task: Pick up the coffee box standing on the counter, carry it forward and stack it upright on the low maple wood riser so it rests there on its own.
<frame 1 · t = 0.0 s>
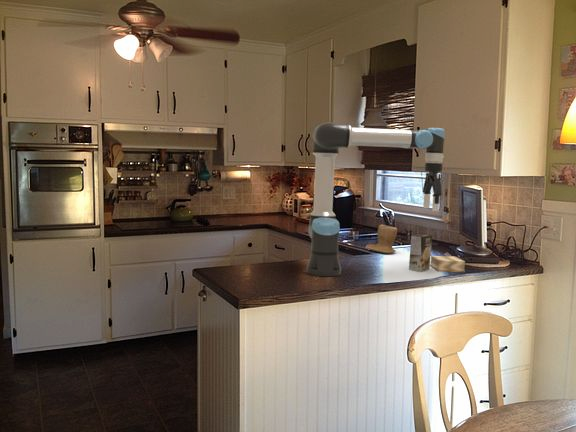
hand: (430, 209, 252), 28 cm above the counter, tool pointing down, fingers open, 13 cm apart
maple riser: (446, 269, 259), on the counter
coffee box: (419, 270, 255), on the counter
tan boot: (382, 252, 299), on the counter
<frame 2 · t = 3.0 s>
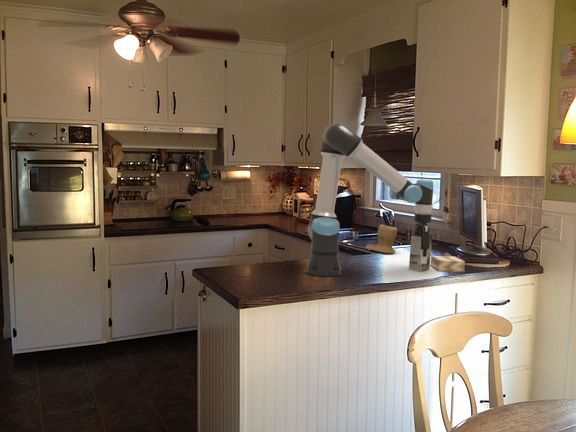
hand: (419, 261, 255), 4 cm above the counter, tool pointing down, fingers closed on coffee box, 10 cm apart
coffee box: (419, 269, 255), on the counter, touching gripper
everything else where it was.
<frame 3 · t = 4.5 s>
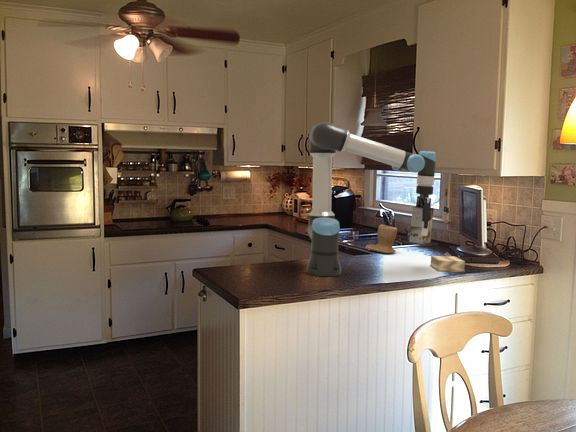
hand: (420, 233, 253), 17 cm above the counter, tool pointing down, fingers closed on coffee box, 10 cm apart
coffee box: (419, 242, 254), point 13 cm above the counter, touching gripper
everything else where it was.
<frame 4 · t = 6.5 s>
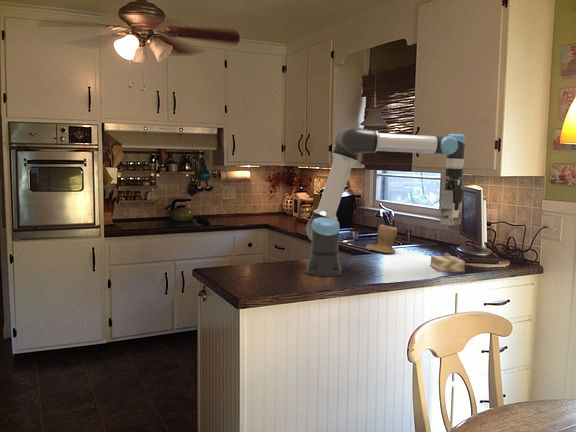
hand: (450, 216, 256), 25 cm above the counter, tool pointing down, fingers closed on coffee box, 10 cm apart
coffee box: (450, 224, 257), point 21 cm above the counter, touching gripper
everything else where it was.
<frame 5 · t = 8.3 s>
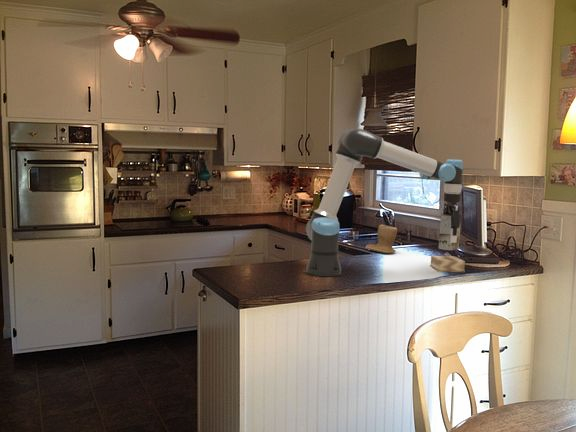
hand: (449, 240, 257), 13 cm above the counter, tool pointing down, fingers closed on coffee box, 10 cm apart
coffee box: (448, 249, 258), point 9 cm above the counter, touching gripper
everything else where it was.
when the fingers open (10 cm above the counter, at t = 9.7 s): coffee box moves 1 cm, resting on maple riser.
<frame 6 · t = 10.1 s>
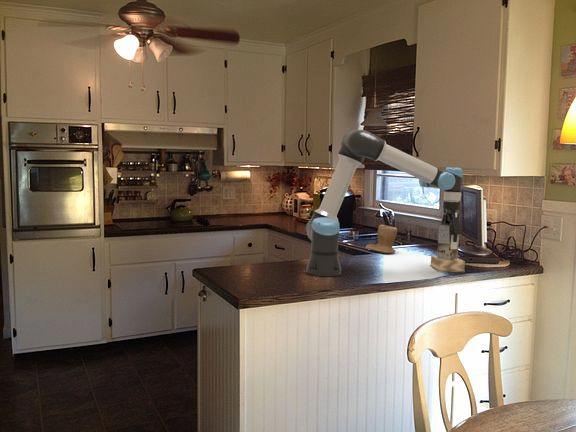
hand: (448, 246, 258), 11 cm above the counter, tool pointing down, fingers open, 13 cm apart
coffee box: (447, 258, 259), point 5 cm above the counter, touching maple riser
everything else where it was.
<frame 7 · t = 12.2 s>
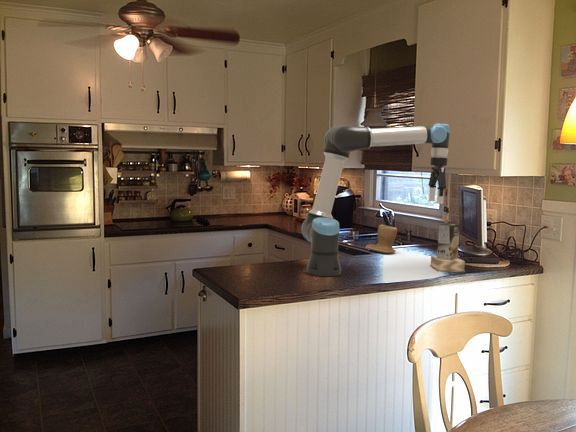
hand: (435, 202, 262), 31 cm above the counter, tool pointing down, fingers open, 13 cm apart
nothing on the counter moved.
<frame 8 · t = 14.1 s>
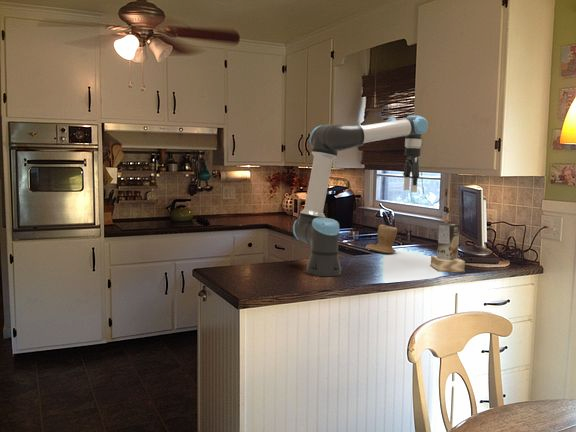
hand: (409, 191, 272), 35 cm above the counter, tool pointing down, fingers open, 13 cm apart
nothing on the counter moved.
at the end: coffee box inside the target area on the maple riser (0.6 cm from its centre), point 4.8 cm above the maple riser's base; coffee box tilted 0°; the gripper is holding nothing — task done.
